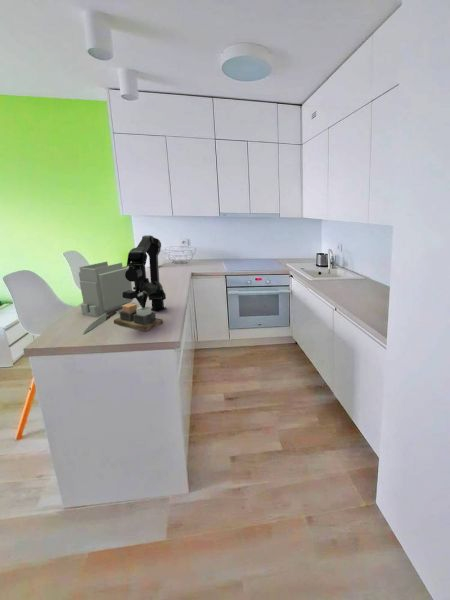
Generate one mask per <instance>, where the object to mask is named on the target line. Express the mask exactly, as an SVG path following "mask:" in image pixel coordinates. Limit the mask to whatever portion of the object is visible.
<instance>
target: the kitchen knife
mask: <svg viewBox="0 0 450 600" xmlns="http://www.w3.org/2000/svg"><path fill="white" fill-rule="evenodd" d="M116 314H118V313H117V310H114V311H111V312H110V313H105V314H103V315H101V316H98V318H96V319H95V320H93V321H91V322H90V323H89V324H88V325H87V326H86V327H85V328H84V330H83V332H82V334H81V335H82V336H84V335H85V334H86V333H88V332H89V331H91V330H92V329H94V328H95V327H97V326H99V325H101V324H102V323H104V322H105V321H107V320H109V319H111V318H112V317H114V316H115V315H116Z"/></svg>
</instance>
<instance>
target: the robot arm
mask: <svg viewBox="0 0 450 600" xmlns="http://www.w3.org/2000/svg"><path fill="white" fill-rule="evenodd" d="M141 236H142V238H141V240H140V242H139V243H138V245H137V246H136V247H134V248H131V249H130V251H129V252H128V254H127V261H126V266H128V268H129V269H128V270H127V271H126V273H125V277H126V279H127V280H128V281H130V282H131V283H132V282H133V284H134V287H132V290H128V291H125V292H123V293H122V295H123V298H127V299H133V300H135V299H136V301H137V302H138V303H139V305H140V307H142V308H145V306H146V305H147V300H149V301H151V311H153V312H161V311H164V310H165V309H167V307H166V306H165V304H164V301H165V300H166V299H167V298H166V295H167V294H166V292H165V291H164V288H163V285H162V283H161V282H160V272H159V271H160V270H159V269H160V268H159V255H160V252H162V251H161V248H162V243H161V241H160V239H159V238H156V237H154V236H153V235H141ZM148 257H149V258H148ZM147 259H149V260H148V261H149V274H150V280H149V278H148V277H147V272H146V265H147Z"/></svg>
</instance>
